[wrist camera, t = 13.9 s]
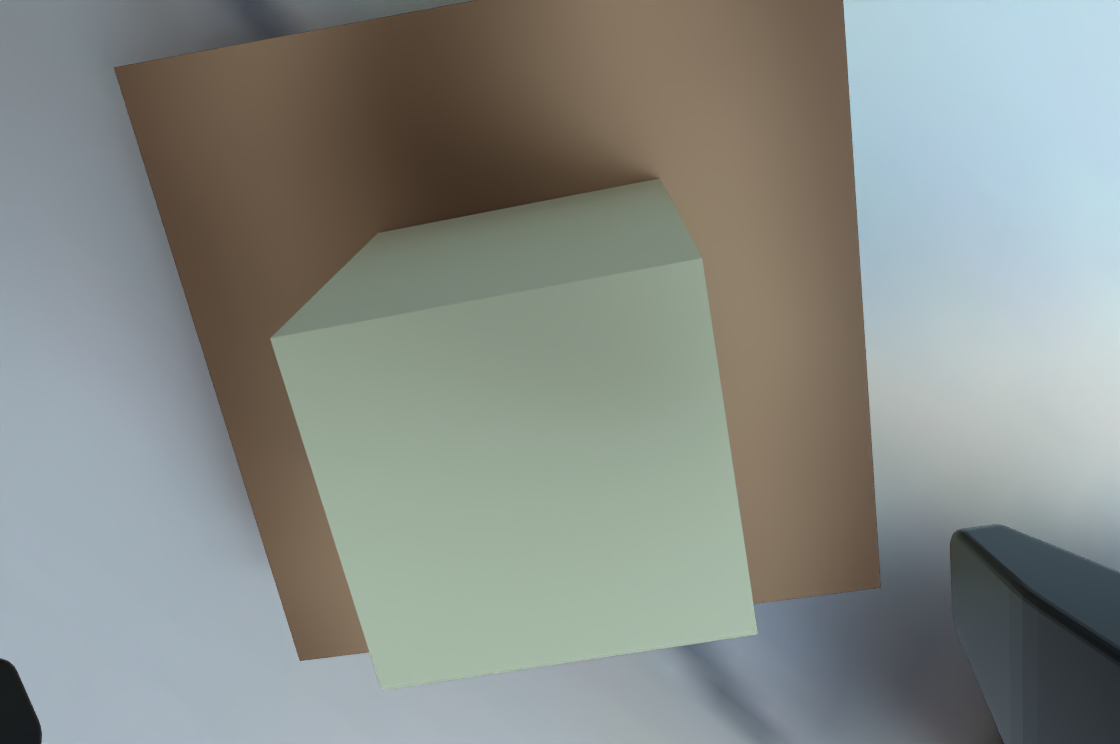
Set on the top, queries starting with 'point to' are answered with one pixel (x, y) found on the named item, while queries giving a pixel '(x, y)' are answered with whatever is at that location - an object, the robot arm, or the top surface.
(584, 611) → the sage block
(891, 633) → the top surface
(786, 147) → the brown flat block
